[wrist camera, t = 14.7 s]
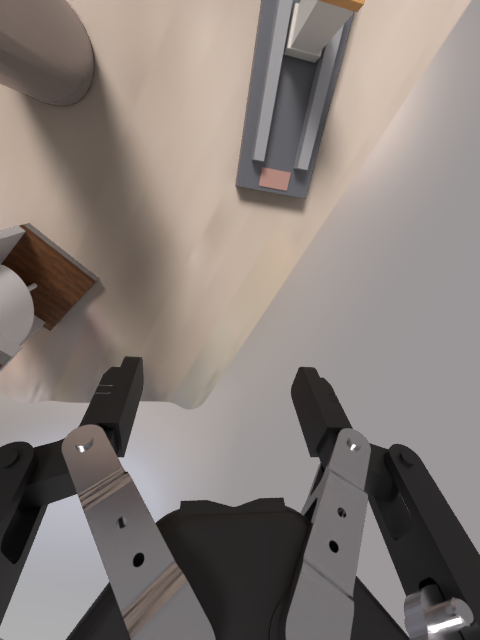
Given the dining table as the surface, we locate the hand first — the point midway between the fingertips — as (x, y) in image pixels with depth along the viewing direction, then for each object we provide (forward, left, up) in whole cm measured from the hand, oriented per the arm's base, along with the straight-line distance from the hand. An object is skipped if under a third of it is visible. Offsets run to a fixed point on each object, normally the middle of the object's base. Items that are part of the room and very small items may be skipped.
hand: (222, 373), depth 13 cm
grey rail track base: (-10, +16, -28) cm, 34 cm away
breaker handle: (-13, +18, -25) cm, 34 cm away
